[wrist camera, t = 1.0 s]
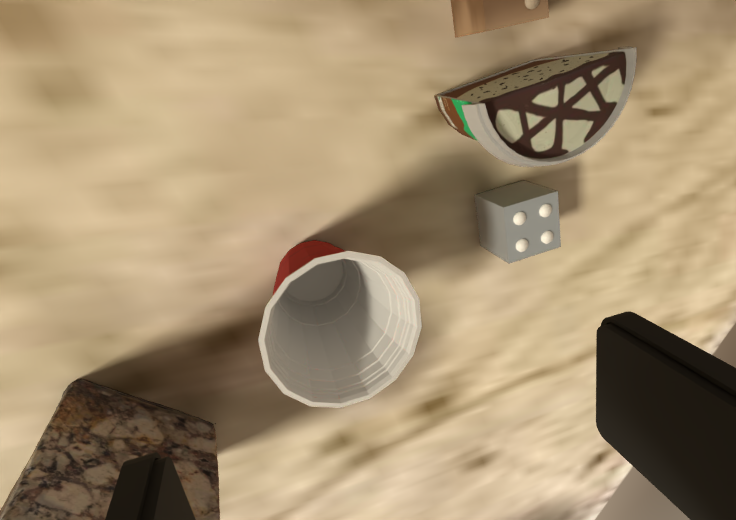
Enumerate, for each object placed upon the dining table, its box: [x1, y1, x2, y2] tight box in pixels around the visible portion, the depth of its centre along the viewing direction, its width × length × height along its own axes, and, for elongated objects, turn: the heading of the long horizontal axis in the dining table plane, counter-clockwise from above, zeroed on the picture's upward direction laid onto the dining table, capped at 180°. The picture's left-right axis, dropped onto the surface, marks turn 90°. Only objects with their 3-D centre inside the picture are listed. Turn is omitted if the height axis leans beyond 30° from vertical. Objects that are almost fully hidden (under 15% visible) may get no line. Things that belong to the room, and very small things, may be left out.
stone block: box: [0, 379, 220, 520], centre depth 32 cm, size 13×7×20 cm, turn 60°
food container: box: [435, 47, 636, 167], centre depth 36 cm, size 12×6×10 cm, turn 107°
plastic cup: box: [258, 240, 422, 408], centre depth 36 cm, size 11×11×12 cm
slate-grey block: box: [474, 180, 561, 263], centre depth 42 cm, size 5×5×5 cm
